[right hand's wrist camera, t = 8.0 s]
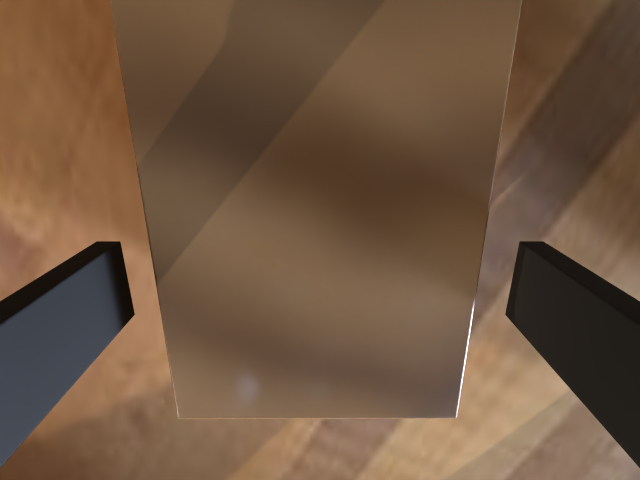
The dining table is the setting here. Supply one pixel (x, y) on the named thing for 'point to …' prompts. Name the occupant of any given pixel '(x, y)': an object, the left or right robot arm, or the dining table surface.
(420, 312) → the cabinet
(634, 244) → the dining table surface
